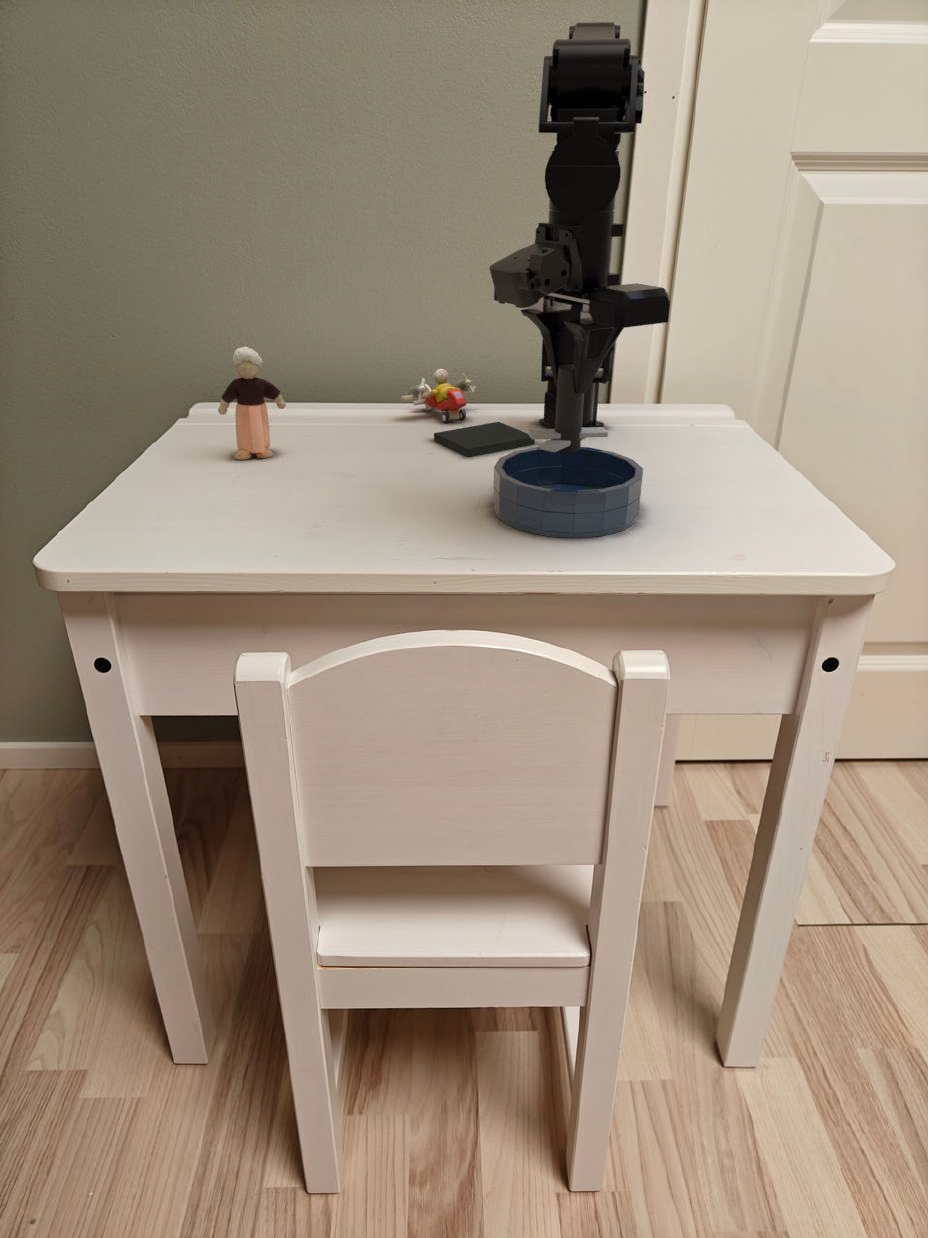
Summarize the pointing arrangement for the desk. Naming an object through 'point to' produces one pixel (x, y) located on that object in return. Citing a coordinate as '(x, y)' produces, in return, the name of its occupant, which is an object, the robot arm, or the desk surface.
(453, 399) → the toy airplane
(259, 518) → the desk surface
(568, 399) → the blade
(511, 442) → the mat
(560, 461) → the bowl
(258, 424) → the grandmother figurine
